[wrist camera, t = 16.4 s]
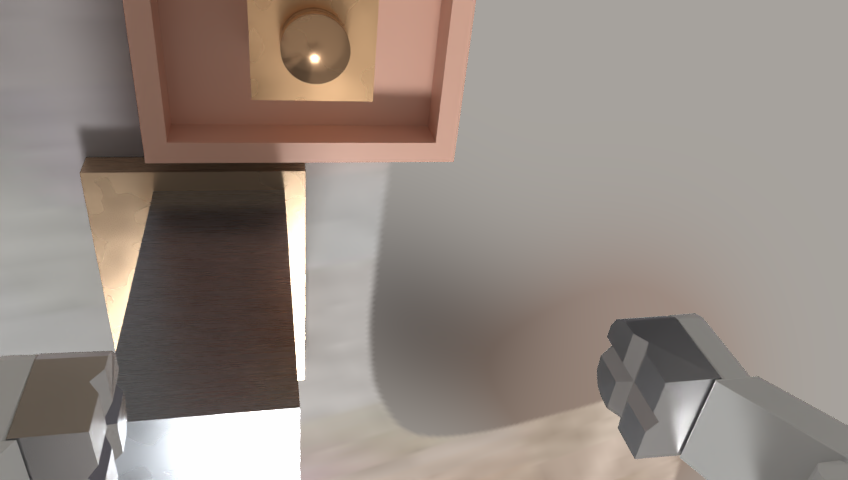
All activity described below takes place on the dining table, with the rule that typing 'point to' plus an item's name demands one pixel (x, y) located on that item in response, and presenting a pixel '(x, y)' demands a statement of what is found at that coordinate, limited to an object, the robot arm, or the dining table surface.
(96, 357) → the robot arm
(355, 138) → the tray
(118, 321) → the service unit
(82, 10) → the dining table surface
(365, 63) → the oak wood brick
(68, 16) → the dining table surface
